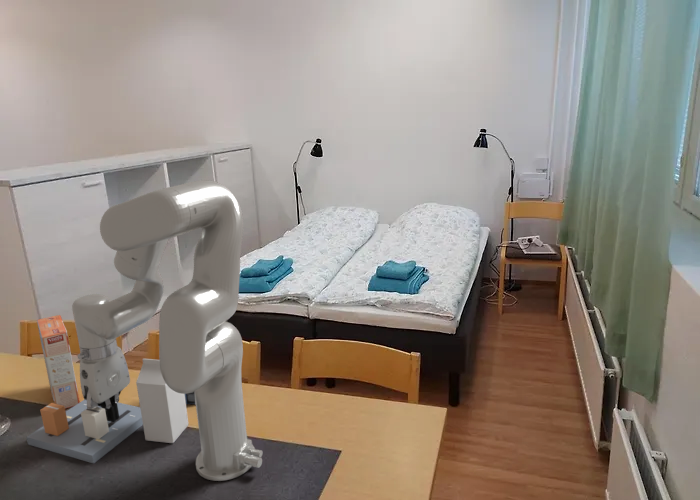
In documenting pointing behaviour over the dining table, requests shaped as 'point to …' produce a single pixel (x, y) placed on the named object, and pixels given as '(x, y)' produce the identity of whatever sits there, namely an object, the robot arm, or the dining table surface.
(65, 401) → the cracker box
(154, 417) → the milk carton
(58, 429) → the orange fader knob
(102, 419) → the cream knob
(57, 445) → the fader console
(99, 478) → the dining table surface
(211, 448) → the robot arm
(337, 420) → the dining table surface
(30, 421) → the dining table surface
